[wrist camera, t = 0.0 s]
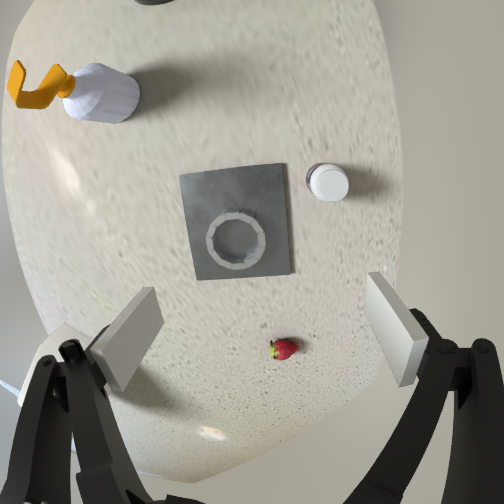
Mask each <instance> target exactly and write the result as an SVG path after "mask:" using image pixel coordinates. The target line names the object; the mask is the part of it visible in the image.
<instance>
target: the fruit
mask: <svg viewBox="0 0 504 504" xmlns="http://www.w3.org/2000/svg"><path fill="white" fill-rule="evenodd" d="M269 348H270V355H271V358H274V359H277V360H285V359H288V358H289V357H290V356H291V355H292V354H293V353H294V352H295V351H296V350H297V349H298V348H299V346H298V345H297V344H293V343H292V342H290V341H288V340H277V341H275V342H274V343H273V342H272V341H270V347H269Z"/></svg>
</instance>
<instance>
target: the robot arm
mask: <svg viewBox="0 0 504 504" xmlns="http://www.w3.org/2000/svg"><path fill="white" fill-rule="evenodd" d="M135 1H136V2H138V3H140V4H143V5H157V4H162V3H166V2H169V1H172V0H135ZM364 313H365V315H366V317H367V319H368V321H369V323H370V325H371V327H372V329H373V331H374V334H375V336H376V338H377V340H378V342H379V344H380V346H381V348H382V350H383V353H384V355H385V357H386V359H387V361H388V364H389V366H390V368H391V370H392V372H393V375H394V377H395V379H396V382H397V384H398V387H403V386H407V385H411V384H413V383H414V381H415V378H416V375H417V377H418V379H419V382H418V384H417V386H416V389H415V391H414V393H413V395H412V397H411V399H410V402H409V403H408V405H407V408H406V410H405V411H404V413H403V415H402V417H401V419H400V421H399V423H398V425H397V427H396V428H395V430H394V432H393V434H392V435H391V437H390V439H389V440H388V442H387V444H386V446H385V447H384V449H383V450H382V452H381V453H380V455H379V456H378V458H377V460H376V461H375V463H374V464H373V466H372V467H371V468H370V470H369V471H368V473H367V474H366V476H365V477H364V478H363V480H362V481H361V482H360V483H359V484H358V486H357V487H356V488H355V489H354V491H353V492H352V493H351V495H350V496H349V497H348V498H347V499H346V501H345V502H344V503H343V504H400V502H401V500H402V498H403V493H404V491H405V489H406V487H407V486H408V484H409V482H410V480H411V479H412V477H413V475H414V473H415V471H416V469H417V467H418V465H419V463H420V461H421V459H422V457H423V455H424V453H425V451H426V448H427V447H428V444H429V442H430V440H431V438H432V435H433V433H434V430H435V428H436V425H437V423H438V420H439V417H440V415H441V412H442V409H443V406H444V403H445V400H446V397H447V394H448V391H454V421H453V435H452V436H453V437H452V445H451V454H450V461H449V468H448V474H447V480H446V484H445V489H444V494H443V498H442V502H441V504H504V384H503V379H502V374H501V369H500V364H499V360H498V356H497V352H496V348H495V346H494V344H493V343H492V342H491V341H489V340H487V339H483V338H481V339H476V340H475V341H474V342H473V344H472V347H471V348H458V346H457V344H456V343H454V342H453V341H451V340H449V339H442V337H441V336H440V335H439V333H438V332H437V331H436V329H435V328H434V327H433V325H432V324H431V323H430V321H429V320H427V318H426V316H425V315H424V314H423V313H422V312H421V311H419V310H417V309H416V308H414V309H408V308H407V307H406V305H405V304H404V303H403V301H402V300H401V299H400V298H399V296H398V295H397V294H396V292H395V291H394V290H393V288H392V287H391V286H390V285H389V283H388V282H387V281H386V280H385V278H384V277H383V276H382V275H381V273H380V272H371V273H367V286H366V298H365V308H364ZM163 324H164V320H163V317H162V314H161V310H160V307H159V304H158V300H157V297H156V293H155V289H154V287H143V288H142V289H141V291H140V292H139V293H138V294H137V295H136V296H135V297H134V298H133V299H132V301H131V302H130V303H129V304H128V305H127V306H126V307H125V308H124V310H123V311H122V312H121V313H120V314H119V315H118V316H117V318H116V319H115V320H114V321H113V322H112V323H111V324H109V325H108V326H106V327H105V328H103V329H102V330H101V332H100V333H99V334H98V335H97V336H96V337H95V340H93V341H92V342H91V343H90V344H89V346H88V347H87V348H86V349H85V350H83V348H82V346H81V344H80V342H79V340H77V339H69V340H67V341H65V342H63V343H62V344H61V345H60V346H59V348H58V351H59V353H60V354H61V356H62V358H63V360H64V362H57V360H56V358H55V356H54V355H45V356H43V357H41V359H39V360H38V362H37V364H36V367H35V369H34V372H33V375H32V378H31V380H30V383H29V386H28V389H27V392H26V395H25V398H24V402H23V405H22V409H21V412H20V415H19V419H18V423H17V427H16V431H15V435H14V440H13V445H12V450H11V455H10V461H9V468H8V475H7V480H6V482H5V484H4V487H3V490H2V492H1V494H0V504H71V491H70V460H71V459H70V458H71V441H72V432H73V437H74V443H75V447H76V452H77V456H78V460H79V465H80V468H81V472H80V473H77V474H76V481H77V484H78V487H79V491H80V494H81V498H82V501H83V504H205V503H202V502H199V501H197V500H193V499H188V498H182V497H177V496H172V495H168V494H167V497H166V500H157V501H153V500H152V498H151V497H150V496H149V495H148V493H147V492H146V491H145V489H144V487H143V485H142V483H141V481H140V479H139V477H138V474H137V472H136V470H135V468H134V466H133V463H132V461H131V459H130V457H129V454H128V452H127V449H126V447H125V444H124V442H123V439H122V437H121V434H120V431H119V429H118V426H117V423H116V420H115V417H114V414H113V411H112V408H111V405H110V401H109V398H108V395H107V391H106V390H105V388H104V386H105V384H106V383H108V385H109V387H110V388H111V390H113V391H118V392H124V390H125V388H126V387H127V385H128V383H129V381H130V380H131V378H132V376H133V374H134V373H135V371H136V369H137V368H138V366H139V364H140V362H141V361H142V359H143V357H144V356H145V354H146V352H147V351H148V349H149V347H150V346H151V344H152V342H153V341H154V339H155V337H156V336H157V334H158V332H159V331H160V329H161V327H162V326H163Z"/></svg>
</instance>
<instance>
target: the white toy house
mask: <svg viewBox="0 0 504 504" xmlns="http://www.w3.org/2000/svg"><path fill="white" fill-rule="evenodd" d="M69 339H77V340H79V342H80V344H81V346H82V348H83V350H85V349H86V348H87V347H88V346H89V344H90V343H91V342H92V341H93V339H92V338H90V337H88V336H86V335H85V334H83V333H81V332H80V331H78V330H76V329H75V328H73V327H71V326H70V325H68V324H66V323H65V322H64V323H63V324H61V325H60V326H59V327H58V328H57V329H56V330H55V331H54V332H53V333H52V334H51V335H50V336H49V337H48V338H47V339H46V340H45V341H44V342H43V343H42V344H41V345H40V346H39V348H38V350H37V352H36V355H35V357H34V359H33V362H32V364H31V366H30V369H29V371H28V374H27V376H26V379H25V381H24V384H23V387H22V389H21V392H20V395H19V398H18V403H19V405H20V406H21V407H22V405H23V402H24V398H25V395H26V392H27V389H28V386H29V383H30V380H31V378H32V375H33V372H34V369H35V367H36V364H37V362H38V360H39V359H41V357H43V356H45V355H54V356H55V358H56V360H57V362H64V360H63V358H62V356H61V354H60V353H59V351H58V348H59V346H60V345H61V344H62V343H63V342H65V341H67V340H69ZM104 388H105V390H106V391H107V395H109V394H110V392H111V388H110V387H109V385H108V383H106V384H105V386H104ZM72 438H74V437H73V432H72Z"/></svg>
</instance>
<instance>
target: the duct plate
mask: <svg viewBox="0 0 504 504" xmlns="http://www.w3.org/2000/svg"><path fill="white" fill-rule="evenodd" d="M179 180H180V187H181V194H182V200H183V206H184V213H185V219H186V225H187V230H188V236H189V242H190V247H191V252H192V258H193V263H194V268H195V273H196V278H197V280H215V279H232V278H248V277H263V276H277V275H290V274H291V273H290V257H289V243H288V229H287V216H286V204H285V193H284V182H283V171H282V163H274V164H263V165H253V166H244V167H235V168H227V169H219V170H212V171H205V172H198V173H192V174H186V175H180V176H179Z"/></svg>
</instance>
